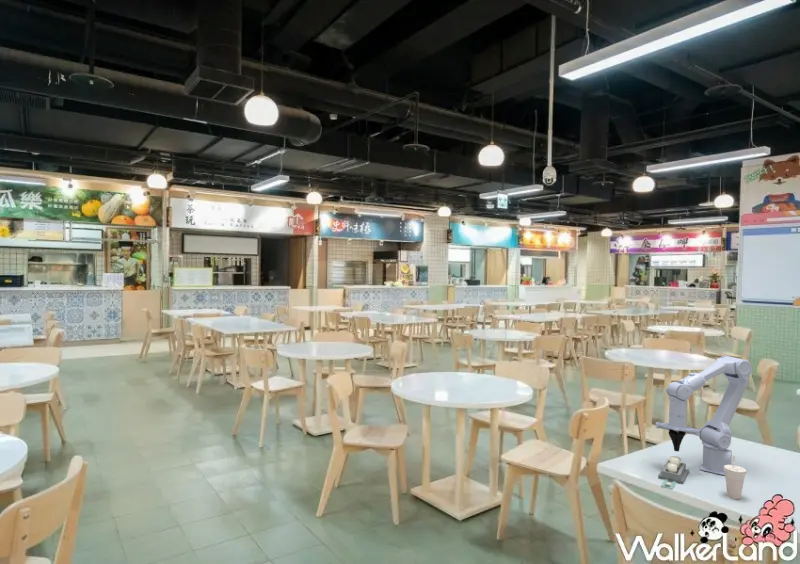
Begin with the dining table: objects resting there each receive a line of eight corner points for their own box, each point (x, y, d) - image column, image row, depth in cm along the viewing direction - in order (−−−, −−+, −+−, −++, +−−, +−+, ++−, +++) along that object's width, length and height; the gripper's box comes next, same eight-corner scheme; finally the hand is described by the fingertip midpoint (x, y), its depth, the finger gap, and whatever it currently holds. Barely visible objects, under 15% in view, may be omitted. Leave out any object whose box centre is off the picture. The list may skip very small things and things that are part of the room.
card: (676, 482, 179) (676, 481, 179) (672, 489, 173) (672, 488, 173) (665, 479, 181) (665, 478, 181) (660, 486, 175) (661, 485, 175)
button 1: (677, 475, 182) (677, 464, 182) (675, 477, 180) (676, 466, 180) (668, 473, 184) (668, 462, 184) (666, 475, 181) (666, 464, 181)
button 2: (681, 468, 189) (681, 457, 189) (679, 470, 187) (680, 459, 187) (672, 466, 191) (672, 455, 191) (670, 468, 188) (671, 457, 188)
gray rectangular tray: (688, 472, 188) (689, 464, 188) (683, 484, 177) (683, 475, 177) (665, 466, 193) (665, 459, 193) (658, 478, 182) (658, 470, 182)
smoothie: (718, 492, 171) (719, 452, 171) (735, 492, 172) (737, 451, 171) (732, 501, 165) (733, 459, 164) (750, 500, 165) (751, 458, 165)
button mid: (679, 468, 185) (679, 457, 185) (677, 470, 183) (678, 459, 183) (670, 466, 187) (670, 455, 187) (668, 468, 185) (669, 457, 185)
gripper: (654, 413, 189) (653, 449, 190) (698, 420, 181) (697, 458, 181) (658, 409, 195) (657, 444, 195) (701, 416, 186) (700, 452, 187)
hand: (676, 450), depth 189 cm, fingers closed
